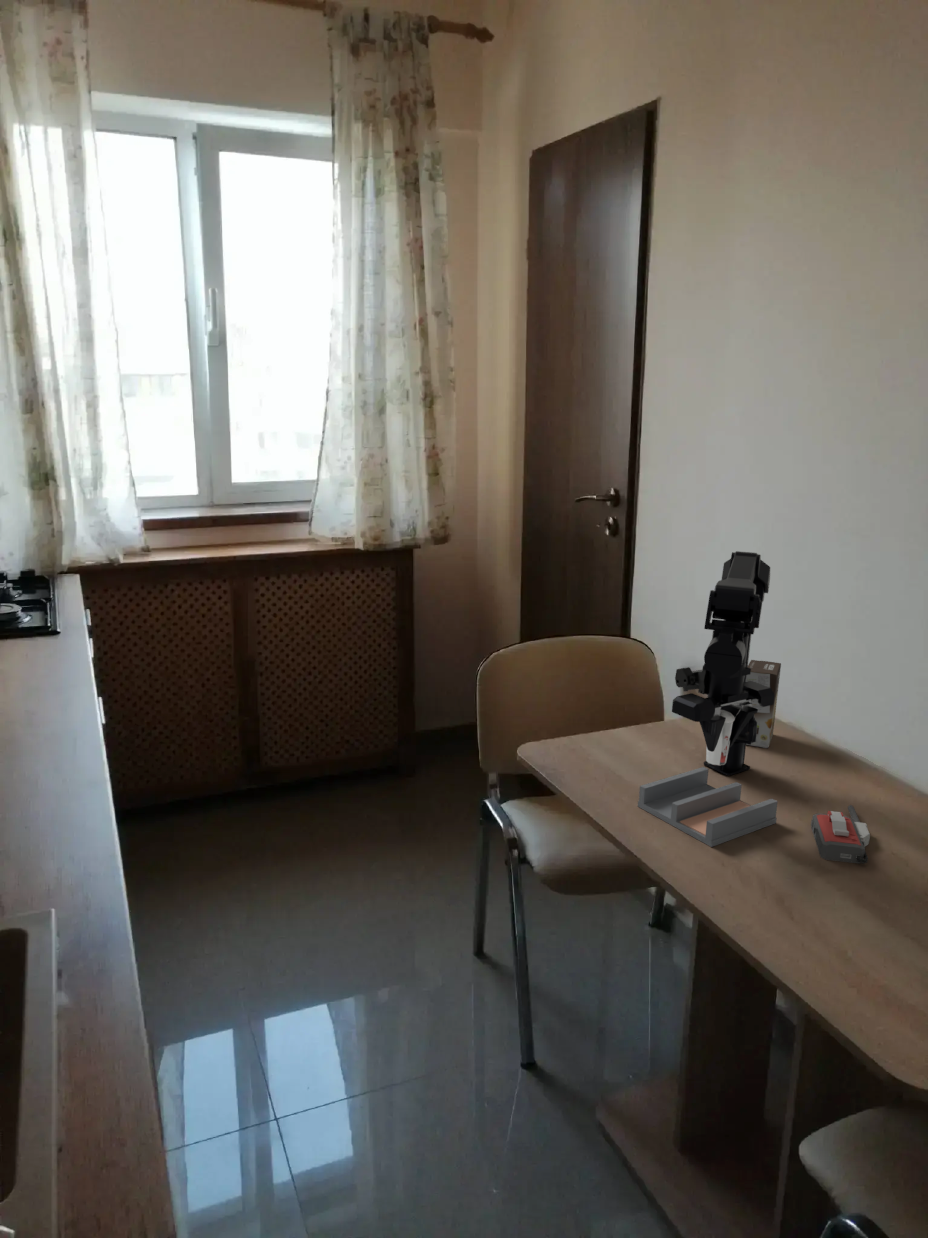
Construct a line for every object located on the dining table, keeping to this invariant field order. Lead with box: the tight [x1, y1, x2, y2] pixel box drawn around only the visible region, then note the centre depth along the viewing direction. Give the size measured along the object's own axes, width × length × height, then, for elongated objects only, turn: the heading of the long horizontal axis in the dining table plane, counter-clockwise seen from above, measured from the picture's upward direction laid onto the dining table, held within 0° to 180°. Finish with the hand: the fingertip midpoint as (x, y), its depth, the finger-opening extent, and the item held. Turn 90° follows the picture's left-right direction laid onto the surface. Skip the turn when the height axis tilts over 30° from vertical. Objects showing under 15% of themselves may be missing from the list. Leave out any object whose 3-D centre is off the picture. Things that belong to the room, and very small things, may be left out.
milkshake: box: [705, 708, 741, 765], centre depth 155 cm, size 5×5×10 cm
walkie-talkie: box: [810, 804, 871, 865], centre depth 153 cm, size 9×4×20 cm
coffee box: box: [746, 659, 782, 749], centre depth 193 cm, size 9×6×16 cm
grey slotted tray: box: [637, 766, 778, 848], centre depth 160 cm, size 16×17×4 cm
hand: (719, 748), depth 156 cm, fingers closed on milkshake, 4 cm apart
